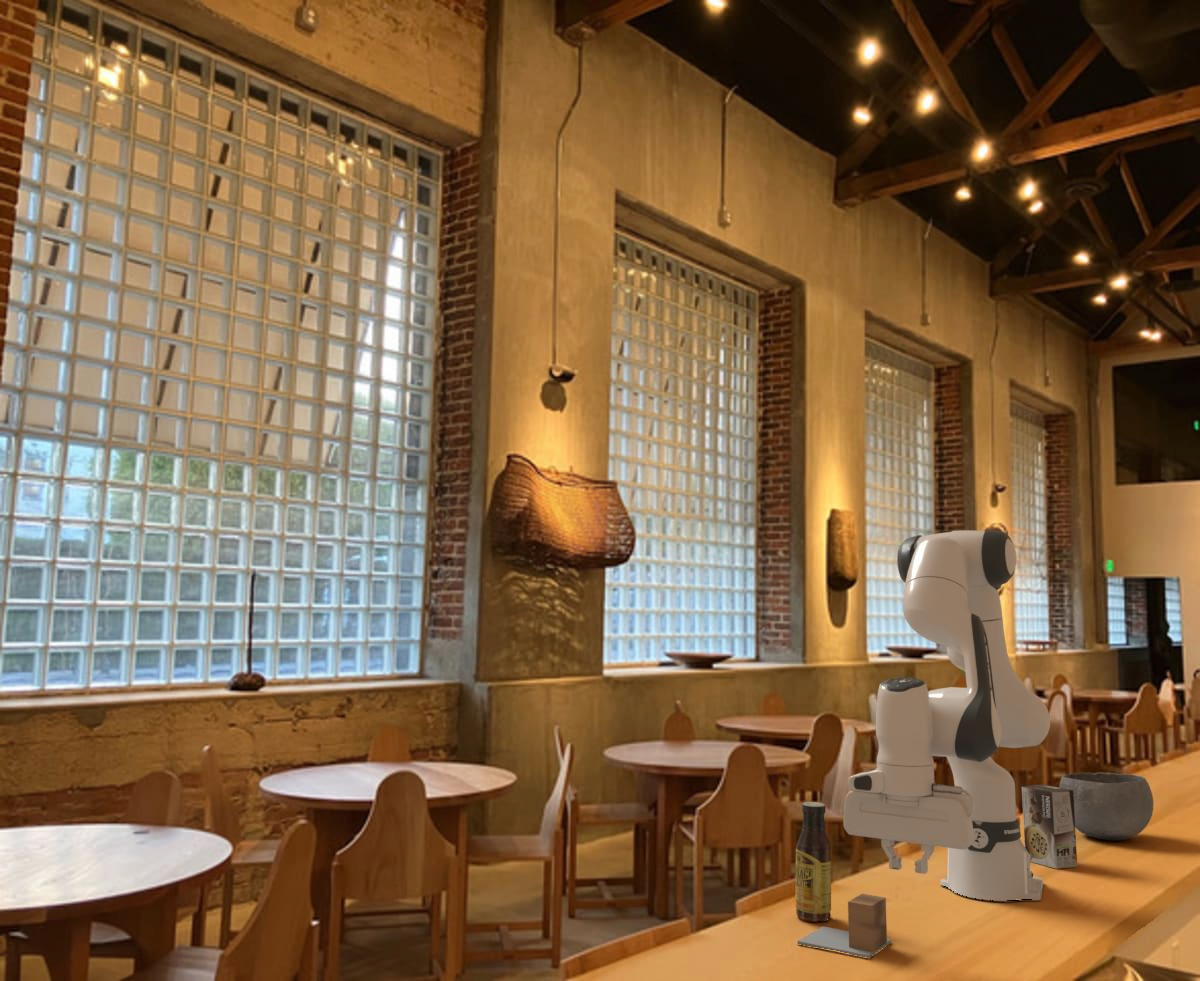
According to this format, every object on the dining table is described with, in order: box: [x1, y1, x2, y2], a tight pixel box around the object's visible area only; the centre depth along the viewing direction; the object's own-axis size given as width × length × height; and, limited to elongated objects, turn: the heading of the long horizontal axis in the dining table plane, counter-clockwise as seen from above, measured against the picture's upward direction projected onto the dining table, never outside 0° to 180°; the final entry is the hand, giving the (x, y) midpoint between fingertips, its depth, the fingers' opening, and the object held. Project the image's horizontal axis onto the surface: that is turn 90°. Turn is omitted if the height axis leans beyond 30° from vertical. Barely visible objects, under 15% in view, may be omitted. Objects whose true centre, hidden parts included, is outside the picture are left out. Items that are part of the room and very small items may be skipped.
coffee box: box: [1021, 784, 1078, 870], centre depth 226 cm, size 9×6×16 cm
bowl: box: [1058, 771, 1154, 841], centre depth 252 cm, size 20×20×15 cm
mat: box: [797, 926, 892, 958], centre depth 169 cm, size 10×12×1 cm
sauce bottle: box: [794, 801, 832, 923], centre depth 184 cm, size 7×6×20 cm
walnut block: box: [847, 893, 888, 952], centre depth 167 cm, size 6×4×7 cm, turn 144°
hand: (908, 870), depth 164 cm, fingers open, 3 cm apart
